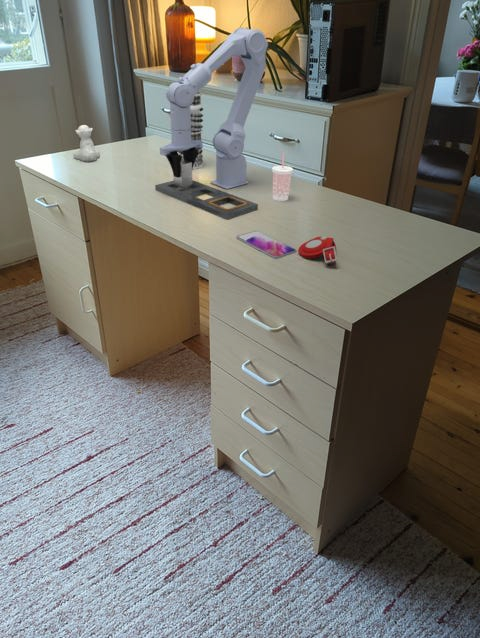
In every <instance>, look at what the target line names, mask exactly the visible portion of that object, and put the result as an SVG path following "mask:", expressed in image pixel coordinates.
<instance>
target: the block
mask: <svg viewBox="0 0 480 638" xmlns="http://www.w3.org/2000/svg"><path fill="white" fill-rule="evenodd" d="M172 176H173V181H174V185H175V186H178V188H180V189H185V188H189V187H188V186H192V180H193V169H192V162H189V161H186V160H181V163H180V177H179V178H177V177H175V176H174V175H172Z"/></svg>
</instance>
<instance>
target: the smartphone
mask: <svg viewBox="0 0 480 638" xmlns="http://www.w3.org/2000/svg"><path fill="white" fill-rule="evenodd" d="M236 239H237V240H238V241H240V242H242V243H243V244H245V245H248V246H250V247H252V248H253V249H255V250H257V251H259V252H261V253H263V254H264V255H266V256H268V257H270V258H273V259H275V260H276V259H280V258H283V257H287V256H289V255H292V254H295V253H296V252H297V250H296V248H293V247H292V246H289V245H287V244H285V243H283V242H282V241H279V240H277V239H275V238H273V237H271V236H269V235H267V234H265V233H263V232H261V231H258V230H253V231H249V232H246V233H242V234H238V235H237V236H236Z"/></svg>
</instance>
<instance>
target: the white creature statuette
mask: <svg viewBox="0 0 480 638" xmlns="http://www.w3.org/2000/svg"><path fill="white" fill-rule="evenodd" d="M93 129H94V128H93V127H90V126H88V125H86V124H82V125H79V126H78V128H77V129H75V130H74V131H75V132H76V134H77V135H78V137H79V138H80V141H79V147H80V149H79V151H78V150H76V151H74V152H73V153H72V155H73V157H74V159H75V160H78V161H82V162H87V163H89V162H95V161H96V160H98V158H99V157H100V154H101V152H100V151H99V150H98V149H95V146H94V145H95V144H94V142H93V140H92V138H91V135H92V132H93Z"/></svg>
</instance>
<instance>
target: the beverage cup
mask: <svg viewBox="0 0 480 638" xmlns="http://www.w3.org/2000/svg"><path fill="white" fill-rule="evenodd" d="M281 159H282V160H281V165H274V166H272V168H271V171H272V199H273V200H274V201H278V202H283V201H285V202H286V201H288V200H289V195H290V187H291V180H292V173H293V172H294V171H293V170H294V168H293V167H291V166H288V165H284V163H285V150H282V158H281Z"/></svg>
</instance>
